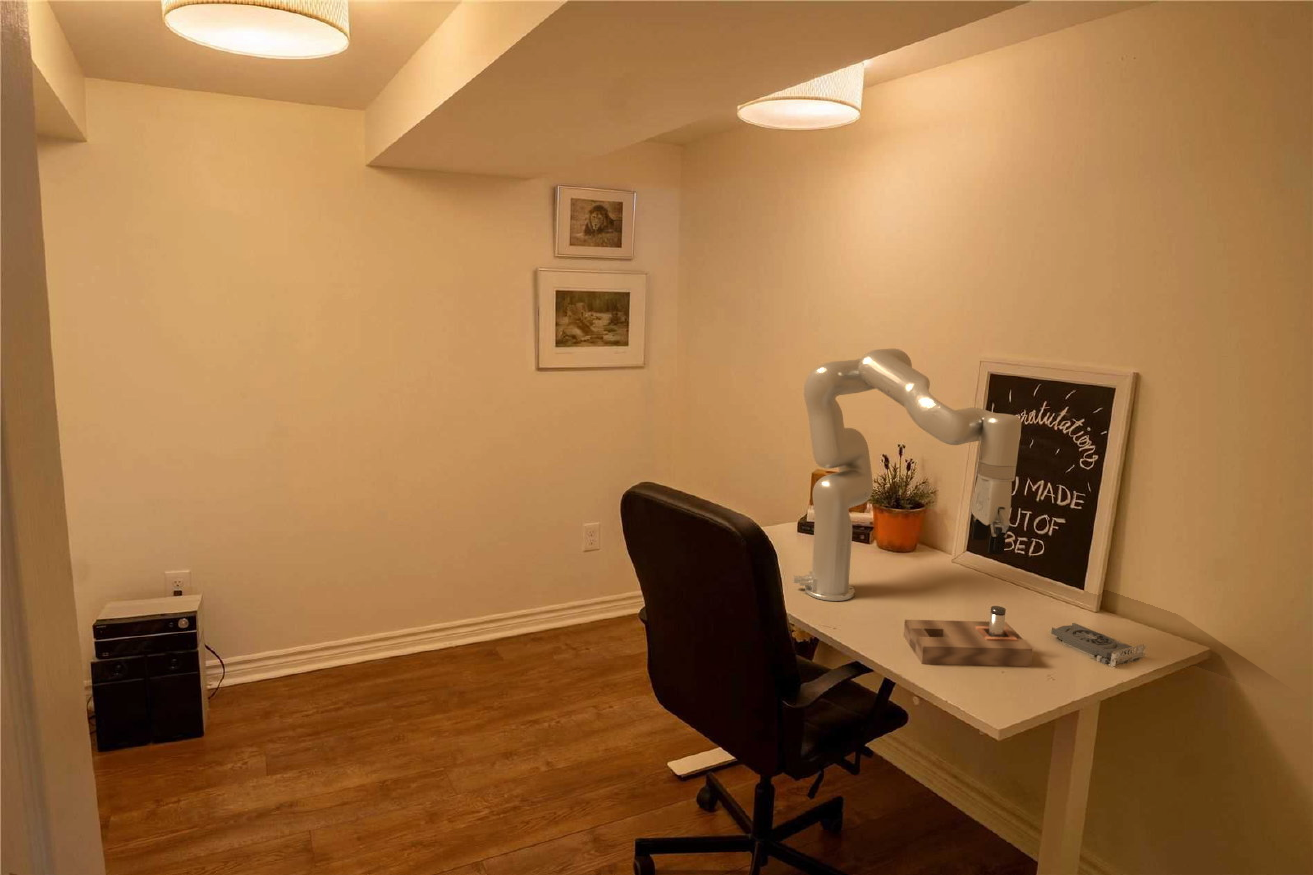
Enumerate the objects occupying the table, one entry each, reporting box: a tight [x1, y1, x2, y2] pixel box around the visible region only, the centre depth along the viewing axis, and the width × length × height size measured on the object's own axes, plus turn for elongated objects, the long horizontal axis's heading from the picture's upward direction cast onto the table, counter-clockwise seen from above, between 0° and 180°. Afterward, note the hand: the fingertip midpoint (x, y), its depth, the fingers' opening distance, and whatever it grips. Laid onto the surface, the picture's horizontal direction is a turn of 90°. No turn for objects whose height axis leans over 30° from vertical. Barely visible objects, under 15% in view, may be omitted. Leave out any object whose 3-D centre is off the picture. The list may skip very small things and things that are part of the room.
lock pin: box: [988, 605, 1006, 637], centre depth 181 cm, size 3×3×10 cm
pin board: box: [903, 619, 1033, 668], centre depth 182 cm, size 23×14×4 cm, turn 89°
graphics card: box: [1050, 622, 1147, 669], centre depth 185 cm, size 17×4×12 cm
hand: (987, 546), depth 182 cm, fingers open, 9 cm apart
